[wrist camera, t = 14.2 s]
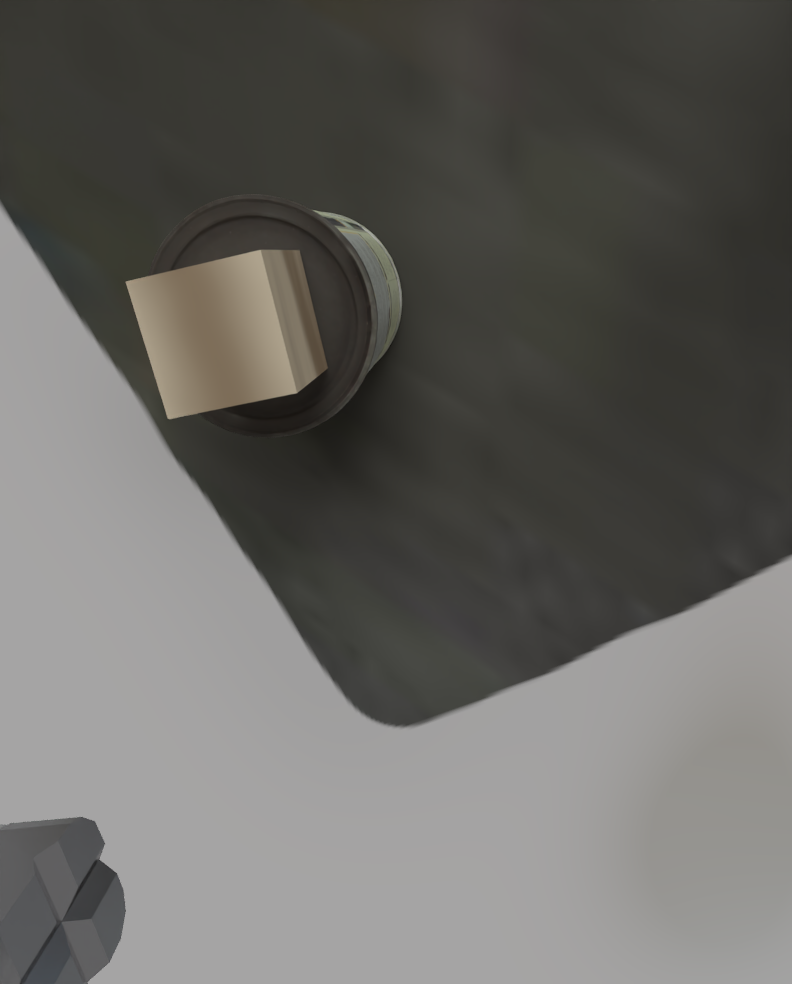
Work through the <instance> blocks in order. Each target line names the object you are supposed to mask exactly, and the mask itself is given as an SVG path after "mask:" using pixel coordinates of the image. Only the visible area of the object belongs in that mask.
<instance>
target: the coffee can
mask: <svg viewBox="0 0 792 984" xmlns="http://www.w3.org/2000/svg"><path fill="white" fill-rule="evenodd" d="M257 250H300V255H301V259H302V263H303V267H304V271H305V275H306V279H307V284H308V288H309V292H310V296H311V300H312V304H313V308H314V313H315V317H316V321H317V325H318V329H319V333H320V337H321V342H322V346H323V350H324V354H325V358H326V362H327V366H328V368H327V369H326V370H325V371H324V372H323V373H321V374H320V375H319V376H318V377H316V378H315V379H314V380H313V381H311V382H310V383H309V384H308V385H307V386H305V387H304V388H303V389H302V390H300V391H299V392H298V393H295V394H290V395H285V396H280V397H275V398H270V399H266V400H261V401H256V402H251V403H246V404H241V405H236V406H231V407H226V408H221V409H216V410H211V411H206V412H202V413H197V414H198V415H200V416H201V417H203V418H204V419H206V420H208V421H210V422H211V423H213V424H215V425H217V426H219V427H221V428H223V429H226V430H228V431H231V432H235V433H238V434H242V435H246V436H253V437H267V438H275V437H284V436H290V435H294V434H298V433H301V432H304V431H307V430H309V429H312V428H314V427H316V426H318V425H320V424H321V423H323V422H325V421H326V420H328V419H330V418H331V417H332V416H334V415H335V414H336V413H338V412H339V411H340V410H341V409H342V408H343V407H344V406H345V405H346V404H347V403H348V402H349V401H350V400H351V398H352V397H353V396H354V394H355V393H356V392H357V390H358V389H359V387H360V386H361V384H362V382H363V381H364V379H365V377H366V375H367V373H368V372H369V371H370V370H371V368H372V367H373V366H374V364H375V363H376V362H377V361H378V360H379V359H380V358H381V357H382V356H383V355H384V354H385V352H386V351H387V349H388V348H389V346H390V345H391V343H392V341H393V339H394V337H395V334H396V332H397V330H398V327H399V323H400V318H401V311H402V290H401V285H400V280H399V276H398V273H397V270H396V268H395V265H394V262H393V260H392V258H391V256H390V255H389V253H388V252H387V250H386V249H385V247H384V246H383V244H382V243H381V242H380V241H379V240H378V239H377V238H376V237H375V235H373V234H372V233H371V232H370V231H369V230H367V229H366V228H365V227H364V226H362V225H360V224H359V223H357V222H355V221H353V220H352V219H349V218H347V217H344V216H342V215H337V214H333V213H327V212H319V211H315V210H311V209H309V208H307V207H305V206H303V205H300V204H298V203H295V202H293V201H290V200H287V199H284V198H279V197H275V196H268V195H259V194H248V195H235V196H230V197H226V198H222V199H219V200H215V201H213V202H211V203H208V204H206V205H204V206H202V207H200V208H199V209H197V210H195V211H194V212H193V213H191V214H190V215H188V216H187V217H186V218H185V219H183V220H182V221H181V222H180V223H179V224H178V225H177V226H176V227H175V228H174V229H173V230H172V231H171V232H170V233H169V235H168V236H167V237H166V238H165V240H164V241H163V243H162V244H161V246H160V248H159V249H158V251H157V253H156V255H155V257H154V259H153V262H152V264H151V268H150V271H149V274H148V276H152V275H156V274H160V273H164V272H169V271H173V270H177V269H181V268H185V267H190V266H194V265H198V264H202V263H207V262H211V261H215V260H219V259H223V258H228V257H232V256H236V255H240V254H245V253H249V252H253V251H257Z"/></svg>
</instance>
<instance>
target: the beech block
mask: <svg viewBox="0 0 792 984" xmlns="http://www.w3.org/2000/svg"><path fill="white" fill-rule="evenodd" d="M126 284H127V288H128V291H129V294H130V297H131V301H132V304H133V307H134V310H135V313H136V317H137V320H138V323H139V326H140V330H141V333H142V336H143V339H144V343H145V346H146V349H147V352H148V355H149V359H150V362H151V365H152V368H153V372H154V375H155V378H156V381H157V385H158V388H159V391H160V394H161V398H162V401H163V404H164V407H165V410H166V414H167V417H168V419H172V418H177V417H182V416H187V415H192V414H197V413H202V412H206V411H211V410H216V409H221V408H226V407H231V406H236V405H241V404H246V403H251V402H256V401H261V400H266V399H270V398H275V397H280V396H285V395H290V394H295V393H298V392H299V391H300V390H302V389H303V388H304V387H305V386H307V385H308V384H309V383H310V382H311V381H313V380H314V379H315V378H316V377H318V376H319V375H320V374H321V373H323V372H324V371H325V370H326V369H327V368H328V366H327V362H326V358H325V354H324V350H323V346H322V342H321V337H320V333H319V329H318V325H317V321H316V317H315V313H314V308H313V304H312V300H311V296H310V292H309V288H308V284H307V279H306V275H305V271H304V267H303V263H302V259H301V255H300V250H257V251H253V252H249V253H245V254H240V255H236V256H232V257H228V258H223V259H219V260H215V261H211V262H207V263H202V264H198V265H194V266H190V267H185V268H181V269H177V270H173V271H169V272H164V273H160V274H156V275H152V276H147V277H143V278H139V279H135V280H130V281H126Z"/></svg>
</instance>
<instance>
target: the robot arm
mask: <svg viewBox="0 0 792 984" xmlns="http://www.w3.org/2000/svg"><path fill="white" fill-rule="evenodd" d="M104 844H105V843H104V841H103V839H102V836H101V834H100V832H99V830H98V827H97V825H96V823H95V822H94V821H92V820H89V819H86V818H83V817H77V818H67V819H55V820H44V821H32V822H22V823H10V824H8V825H0V984H88V983H87V982H88V981H89V980H90V979H91V978H92V977H93V976H95V975H96V974H97V973H98V972H99V971H100V970H101V969H102V968H103V967H105V966H106V965H107V964H108V963H109V962H110V960H111V958H112V956H113V953H114V952H115V949H116V947H117V945H118V943H119V941H120V939H121V933H122V929H123V923H124V917H125V912H126V910H125V901H124V892H123V888H122V886H121V883H120V880H119V878H118V875H117V873H116V872H114V871H113V870H112V869H111V868H109V867H108V866H107V865H105V864H104V863H103V862H101V861H100V860H99V859H100V856H101V853H102V850H103V847H104Z"/></svg>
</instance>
